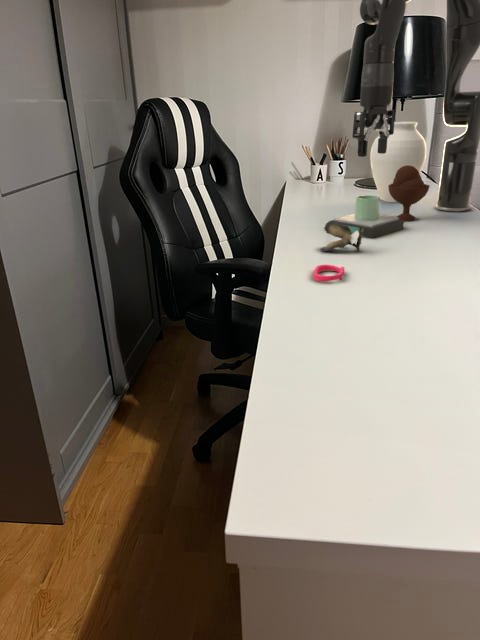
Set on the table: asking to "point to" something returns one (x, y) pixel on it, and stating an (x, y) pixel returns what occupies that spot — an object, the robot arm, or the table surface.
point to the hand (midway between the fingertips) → (372, 154)
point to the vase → (397, 156)
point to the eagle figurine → (342, 236)
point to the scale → (372, 225)
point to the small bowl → (367, 207)
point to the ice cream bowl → (407, 189)
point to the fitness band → (328, 278)
